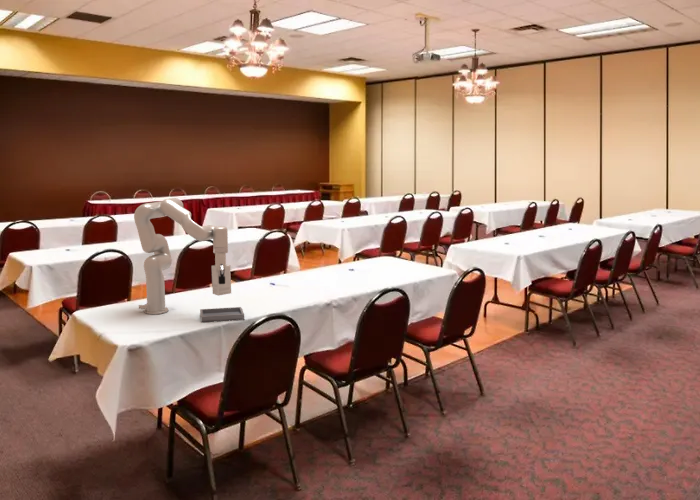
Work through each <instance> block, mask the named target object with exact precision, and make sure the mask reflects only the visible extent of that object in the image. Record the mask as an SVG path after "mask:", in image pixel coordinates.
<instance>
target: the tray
mask: <svg viewBox="0 0 700 500" xmlns="http://www.w3.org/2000/svg"><path fill="white" fill-rule="evenodd" d="M199 312H200V313H199V314H200V321H201V323H211V322H213V323H214V321H217V322H230V321H232V320H233V321H244V320H245V313H244V311H243V309H242V307H241V306H236V307H235V306H234V307H219V308H218V307H216V308H200V309H199ZM229 320H230V321H229Z"/></svg>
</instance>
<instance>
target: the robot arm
mask: <svg viewBox="0 0 700 500" xmlns="http://www.w3.org/2000/svg"><path fill="white" fill-rule="evenodd" d="M163 217H169V218H170V219H171V220H173V221H174V222H176V223H178V225H181V228H182V230H183V231H184V232H185V233H186V234H187V235H189V236H190V237H192V238H193V239H194V240H197V241H199V242H205V241H209V240H212V245H213V247H212V248H213V249H212V250H213V251H212V252H213V254H214V256H215V258H214V261H215V262H214V263H215V264H214V265H216V272H218V271H219V284H225V273H224V272H225V271H226V264H227V254H228V253H229V246H228V245H229V243H228V242H229V240H228V238H229V237H228V236H229V235H228V228H227V227H226V226H222V225H218V226H217V225H209V224H208V225H207V224H206V225H203V226H202V225H199V224H198V223H197V222H195V221H193V219H192V213H191V211H189V210H188V209H186V208H185V207H184V203H183V202H182V200H181V199H179V198H177V197H172V198H166V199H163V200H160V201H155V202H147V203H142V204H141V205H139V206H138V207H136V209H135V210H134V214H133V219H134V220H133V221H134V224H135V226H136V227H135V228H136V230H137V233H138V234H137V235H138V237H139V242H140V245H141V246H140V247H141V249H142V251H143V252H144V253H147V254H151V255H149V256H148V257H146V258H145V260H144V262H143V269H144V273H145V282H146V283H145V284H146V285H145V286H146V304H139V305H138V310H144V313H145V314H147V315H162V314H166V313H168V312H169V308H168V307H167V306H166V291H165V288H166V287H165V285H166V283H165V277H164V273H163V271H164V270H167V269H169V268H170V267H171V266H172V261H173V259H172V256H171V255H172V254H171V252H170V248H169V244H168V240H167V239H166V237H165V236H164V235H162V233H161V234H160V233H156V231H155V227H154V225H153V223H152V222H151V220H152V219H156V218H163ZM152 253H153V254H152ZM220 267H221V271H220ZM224 269H225V270H224Z"/></svg>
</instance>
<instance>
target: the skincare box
mask: <svg viewBox="0 0 700 500" xmlns="http://www.w3.org/2000/svg"><path fill="white" fill-rule="evenodd" d="M224 270H225V269H224ZM220 271H221V267H220ZM224 273H225V284H219V271H218V272H216V265H215V264H214V265H211V284H212V285H211V286H212V287H211V288H212V294H213V295H215V296H219V297H220V296H225V295H230V294H232V282H231V280H232V278H231V275H232V274H231V265H230V264H227V263H226V271H225V272H224Z"/></svg>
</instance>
